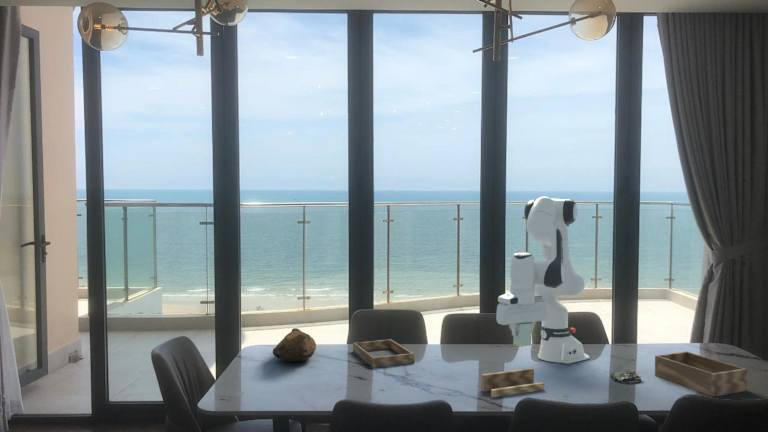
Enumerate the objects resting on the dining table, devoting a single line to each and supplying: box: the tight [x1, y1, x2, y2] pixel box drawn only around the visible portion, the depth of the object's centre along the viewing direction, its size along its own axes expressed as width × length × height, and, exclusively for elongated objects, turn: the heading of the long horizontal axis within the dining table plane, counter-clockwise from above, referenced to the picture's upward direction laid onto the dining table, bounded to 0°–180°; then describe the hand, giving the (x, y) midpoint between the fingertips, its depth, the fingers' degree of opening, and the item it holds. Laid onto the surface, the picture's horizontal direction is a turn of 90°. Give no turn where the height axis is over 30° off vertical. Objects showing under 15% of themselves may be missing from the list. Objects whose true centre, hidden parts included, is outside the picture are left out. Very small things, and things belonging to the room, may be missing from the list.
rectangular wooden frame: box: [352, 338, 415, 368], centre depth 256 cm, size 19×27×4 cm
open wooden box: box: [654, 351, 748, 397], centre depth 219 cm, size 17×26×8 cm, turn 21°
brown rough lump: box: [272, 327, 317, 363], centre depth 252 cm, size 37×18×15 cm, turn 175°
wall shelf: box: [480, 367, 545, 398], centre depth 211 cm, size 22×8×6 cm, turn 111°
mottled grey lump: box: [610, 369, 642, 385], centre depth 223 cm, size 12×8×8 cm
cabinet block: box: [512, 322, 532, 347], centre depth 209 cm, size 5×4×10 cm
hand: (522, 334), depth 209 cm, fingers closed on cabinet block, 5 cm apart
